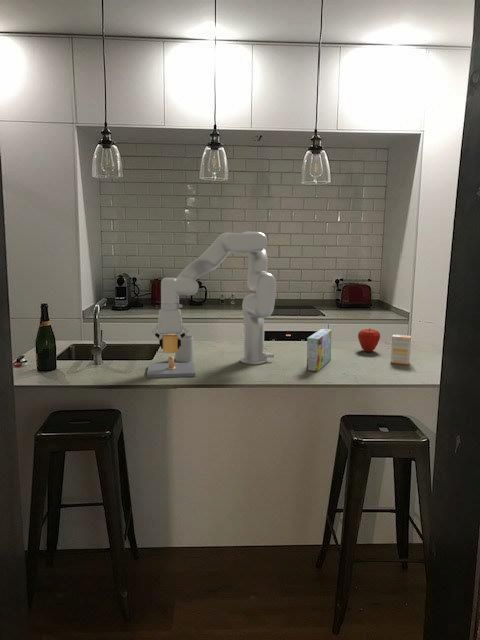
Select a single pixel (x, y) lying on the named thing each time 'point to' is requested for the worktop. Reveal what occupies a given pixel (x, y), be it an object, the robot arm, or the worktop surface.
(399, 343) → the supplement box
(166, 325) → the robot arm
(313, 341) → the snack box
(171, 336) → the orange cylinder
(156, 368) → the base
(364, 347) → the apple
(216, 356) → the worktop surface
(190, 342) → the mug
